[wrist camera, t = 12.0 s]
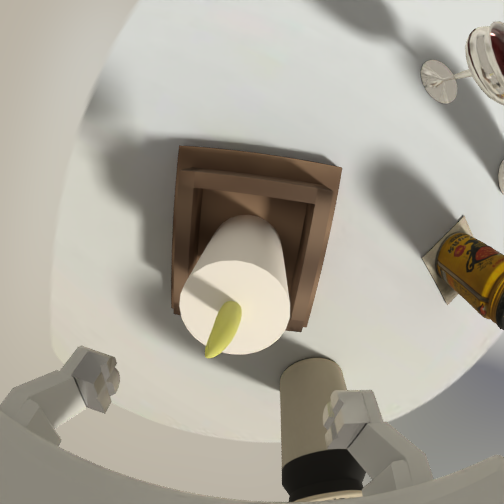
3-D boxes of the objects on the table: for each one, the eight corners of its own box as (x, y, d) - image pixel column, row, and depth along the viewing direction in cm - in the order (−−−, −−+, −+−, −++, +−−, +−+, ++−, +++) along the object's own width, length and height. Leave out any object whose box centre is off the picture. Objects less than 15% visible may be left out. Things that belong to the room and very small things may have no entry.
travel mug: (268, 387, 34) (265, 515, 17) (302, 347, 31) (320, 492, 14) (317, 403, 34) (332, 518, 18) (354, 367, 32) (390, 491, 15)
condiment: (463, 215, 25) (536, 252, 13) (484, 266, 26) (543, 312, 15) (420, 257, 27) (484, 314, 15) (446, 304, 28) (497, 363, 17)
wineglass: (416, 106, 21) (497, 92, 10) (409, 45, 19) (477, 6, 8) (465, 117, 21) (545, 116, 9) (458, 60, 18) (530, 40, 7)
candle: (257, 293, 27) (247, 425, 13) (199, 256, 26) (135, 369, 12) (297, 242, 25) (331, 356, 11) (236, 200, 24) (194, 274, 10)
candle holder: (184, 145, 24) (165, 145, 19) (338, 166, 24) (354, 170, 19) (175, 300, 30) (160, 327, 25) (304, 319, 30) (310, 348, 25)
